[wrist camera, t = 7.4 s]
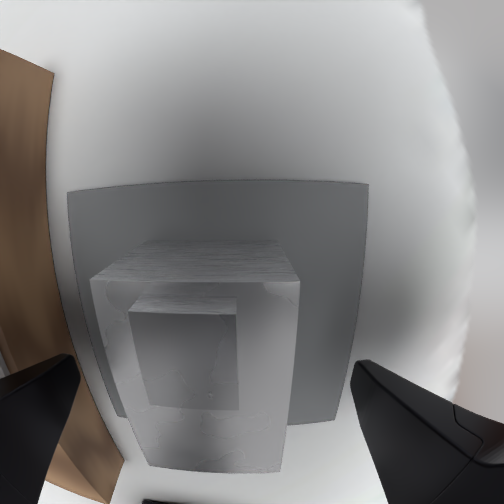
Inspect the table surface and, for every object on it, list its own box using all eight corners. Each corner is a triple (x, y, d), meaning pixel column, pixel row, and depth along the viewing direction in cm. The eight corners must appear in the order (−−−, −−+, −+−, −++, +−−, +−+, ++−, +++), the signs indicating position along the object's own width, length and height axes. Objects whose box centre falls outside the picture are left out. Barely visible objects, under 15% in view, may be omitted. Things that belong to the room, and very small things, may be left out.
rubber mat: (332, 414, 12) (334, 420, 12) (119, 411, 12) (117, 416, 11) (364, 183, 9) (368, 184, 9) (72, 191, 9) (66, 192, 9)
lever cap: (270, 399, 11) (282, 489, 6) (169, 396, 11) (144, 482, 6) (276, 240, 9) (309, 296, 5) (145, 241, 9) (71, 293, 5)
